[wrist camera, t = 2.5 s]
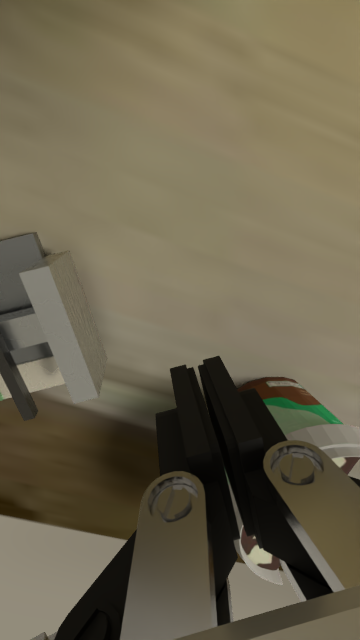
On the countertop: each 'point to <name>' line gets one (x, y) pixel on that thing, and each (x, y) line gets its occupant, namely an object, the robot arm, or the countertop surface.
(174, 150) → the countertop surface
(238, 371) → the countertop surface
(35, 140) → the countertop surface
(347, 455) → the food container
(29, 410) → the grey boxy piece
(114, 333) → the countertop surface
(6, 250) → the gauge body
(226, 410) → the robot arm
